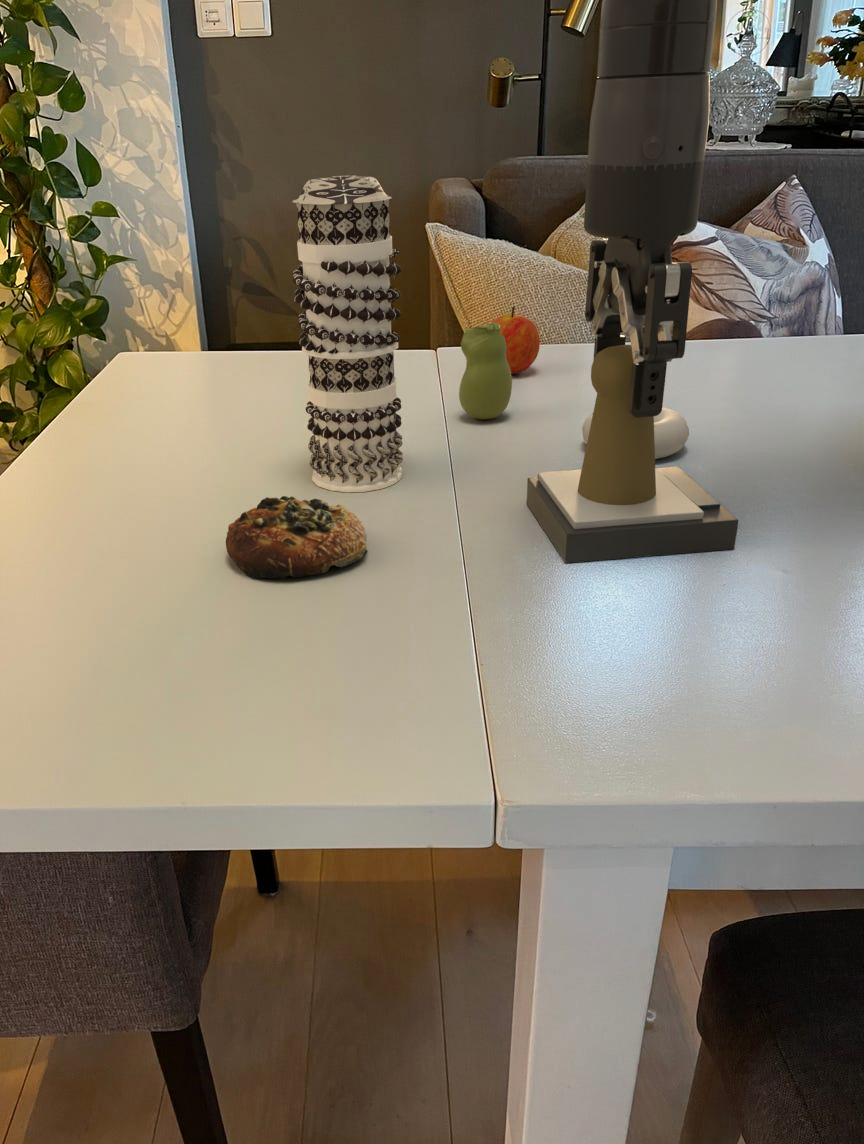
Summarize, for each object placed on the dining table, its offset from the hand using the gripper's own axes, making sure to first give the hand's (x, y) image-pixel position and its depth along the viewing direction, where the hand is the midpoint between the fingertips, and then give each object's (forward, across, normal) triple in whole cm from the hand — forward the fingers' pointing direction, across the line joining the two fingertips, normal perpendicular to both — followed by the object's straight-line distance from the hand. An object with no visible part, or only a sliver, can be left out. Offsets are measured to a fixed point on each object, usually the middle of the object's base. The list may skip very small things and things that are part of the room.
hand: (624, 399), depth 71 cm
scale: (+10, 0, -1) cm, 10 cm away
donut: (+10, +18, -8) cm, 22 cm away
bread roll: (+10, 0, +25) cm, 27 cm away
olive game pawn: (+7, 0, 0) cm, 7 cm away
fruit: (+10, +49, -3) cm, 50 cm away
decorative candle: (+10, +16, +19) cm, 27 cm away
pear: (+10, +31, +4) cm, 33 cm away
